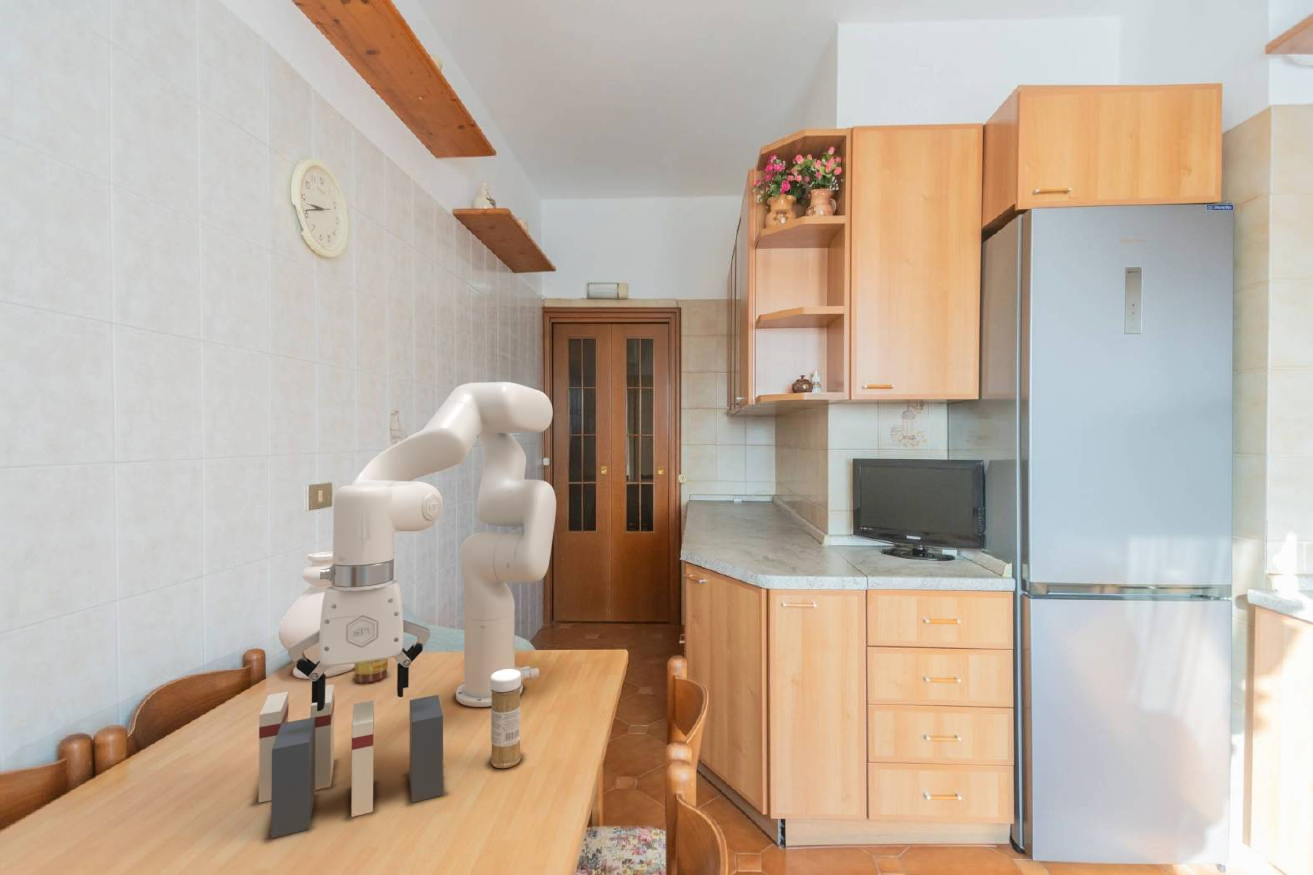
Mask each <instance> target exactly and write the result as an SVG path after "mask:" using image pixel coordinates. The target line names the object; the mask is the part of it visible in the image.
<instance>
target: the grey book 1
mask: <svg viewBox="0 0 1313 875" xmlns="http://www.w3.org/2000/svg"><path fill="white" fill-rule="evenodd" d="M315 798H316V790H315V717H313V718H311V717H308V718H301V719H298V720H292V721H288V722H286V723H281V726H280V728H279V731H278V734H277V737H276V740H275V742H274V745H273V748H272V793H271V800H270V801H271V803H270V804H271V805H270V807H271V808H270V810H271V812H270V814H271V815H270V817H271V818H270V820H271V821H270V839H271V840H273V839H277V838H280V837H285V836H288V835H292V834H295V833H299V832H304V831H307V830H309V829H310V824H311V820H312V814H313V809H314V803H315Z"/></svg>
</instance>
